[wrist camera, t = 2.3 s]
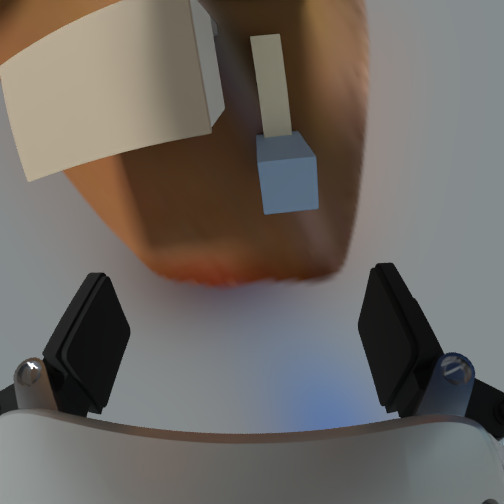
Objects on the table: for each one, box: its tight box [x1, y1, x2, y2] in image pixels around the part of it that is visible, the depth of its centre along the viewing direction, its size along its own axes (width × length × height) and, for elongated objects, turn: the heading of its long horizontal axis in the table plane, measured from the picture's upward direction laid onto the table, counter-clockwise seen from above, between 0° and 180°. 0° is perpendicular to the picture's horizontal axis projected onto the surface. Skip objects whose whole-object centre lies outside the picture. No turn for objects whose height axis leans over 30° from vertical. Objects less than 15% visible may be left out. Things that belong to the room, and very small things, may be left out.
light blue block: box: [250, 34, 319, 215], centre depth 22 cm, size 4×14×9 cm, turn 8°
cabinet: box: [0, 0, 225, 182], centre depth 18 cm, size 12×8×14 cm
